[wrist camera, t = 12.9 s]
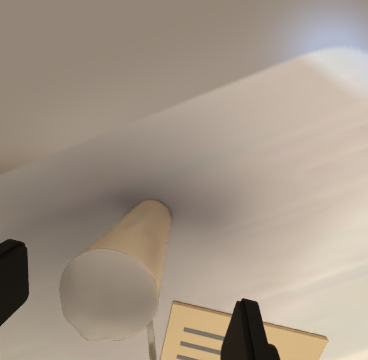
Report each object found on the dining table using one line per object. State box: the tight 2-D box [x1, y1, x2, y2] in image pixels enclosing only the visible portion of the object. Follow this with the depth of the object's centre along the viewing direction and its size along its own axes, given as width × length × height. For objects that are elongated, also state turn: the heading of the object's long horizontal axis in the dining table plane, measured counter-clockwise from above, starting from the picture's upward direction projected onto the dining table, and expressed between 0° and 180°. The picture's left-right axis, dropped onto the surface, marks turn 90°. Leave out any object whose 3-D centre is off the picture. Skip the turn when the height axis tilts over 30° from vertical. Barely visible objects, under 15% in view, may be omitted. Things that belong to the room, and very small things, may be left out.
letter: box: [160, 301, 328, 360], centre depth 20 cm, size 14×10×1 cm
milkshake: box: [60, 200, 172, 360], centre depth 12 cm, size 5×5×10 cm
